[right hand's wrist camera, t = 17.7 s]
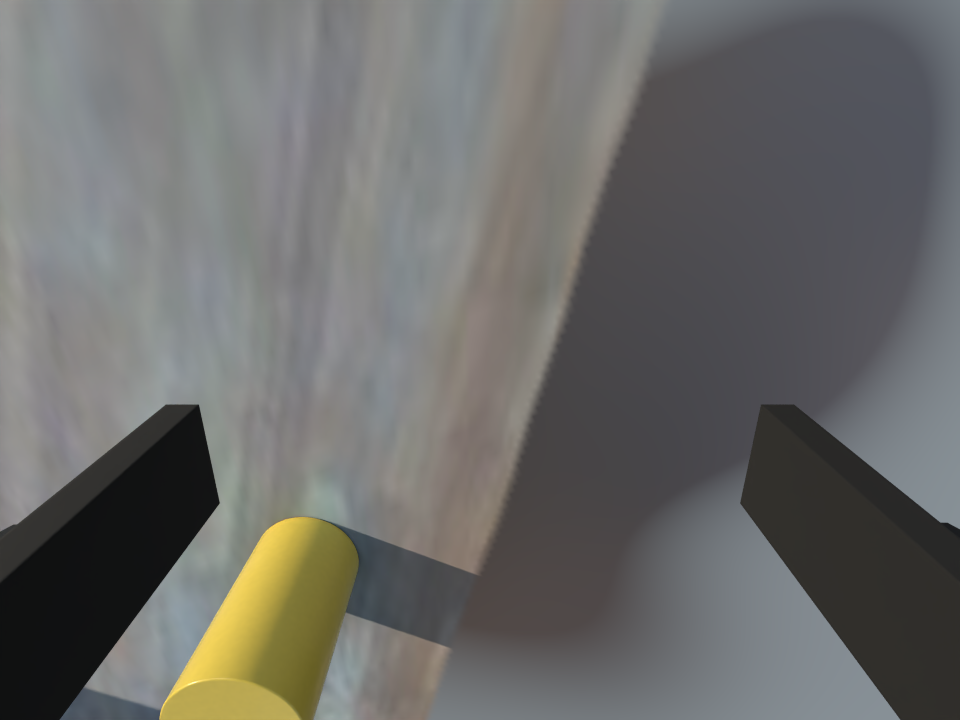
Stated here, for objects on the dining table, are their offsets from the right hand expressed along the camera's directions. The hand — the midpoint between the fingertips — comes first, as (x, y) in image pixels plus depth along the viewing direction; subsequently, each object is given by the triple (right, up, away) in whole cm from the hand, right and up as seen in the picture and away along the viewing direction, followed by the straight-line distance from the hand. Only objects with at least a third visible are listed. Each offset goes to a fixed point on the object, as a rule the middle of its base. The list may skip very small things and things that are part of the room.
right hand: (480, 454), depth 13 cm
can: (-11, -10, +20) cm, 25 cm away
